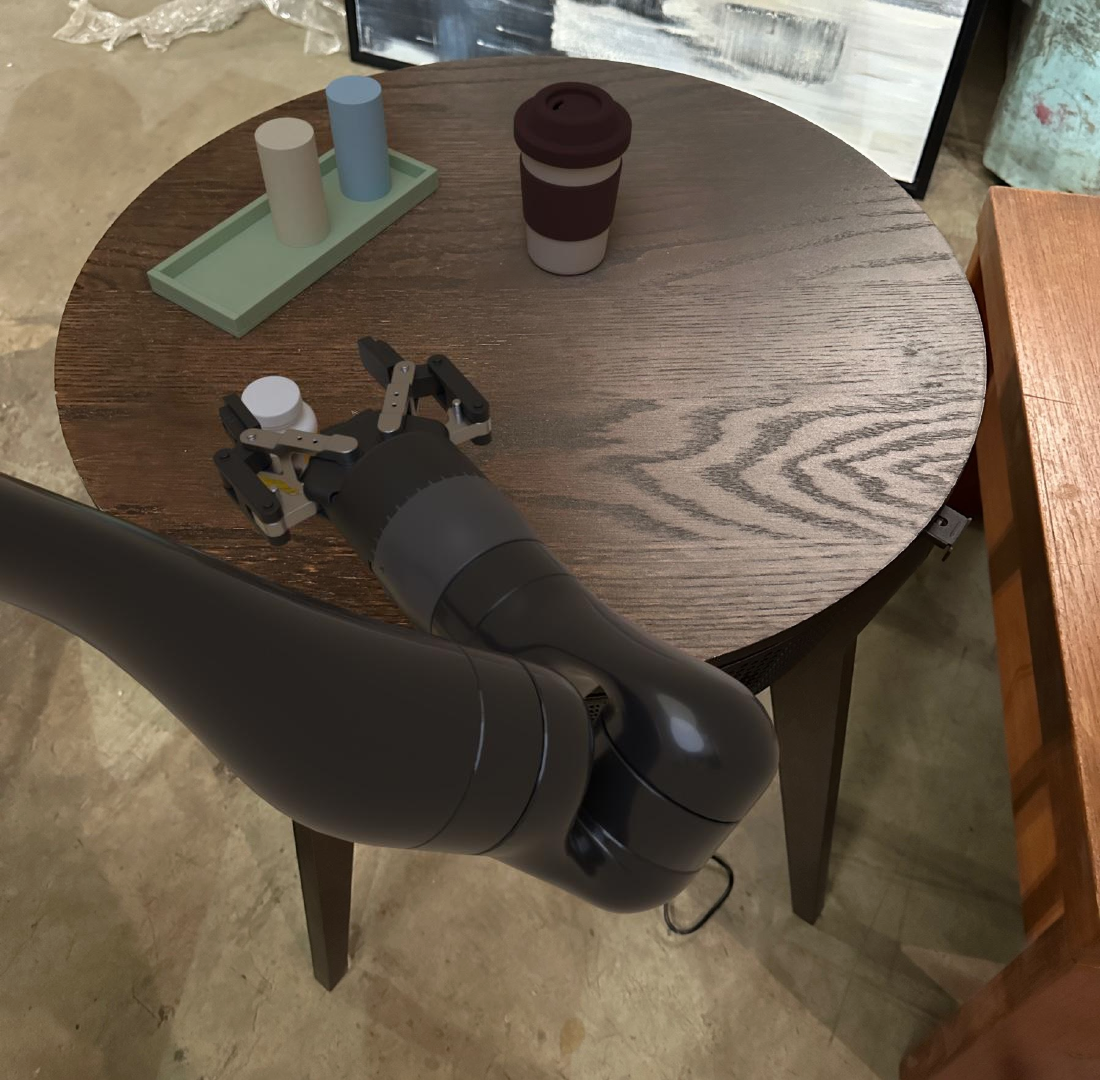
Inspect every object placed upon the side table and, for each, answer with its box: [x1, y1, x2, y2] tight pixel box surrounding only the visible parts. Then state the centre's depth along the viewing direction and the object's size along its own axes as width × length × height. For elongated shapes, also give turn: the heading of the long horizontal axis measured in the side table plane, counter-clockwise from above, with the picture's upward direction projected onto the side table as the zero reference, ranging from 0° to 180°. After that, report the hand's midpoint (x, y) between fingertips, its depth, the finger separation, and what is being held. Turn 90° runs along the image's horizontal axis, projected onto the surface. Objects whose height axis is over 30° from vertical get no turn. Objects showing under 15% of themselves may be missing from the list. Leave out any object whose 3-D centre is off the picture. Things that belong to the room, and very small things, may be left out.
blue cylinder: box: [325, 74, 392, 202], centre depth 97 cm, size 5×5×10 cm
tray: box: [146, 147, 440, 339], centre depth 96 cm, size 28×11×2 cm, turn 146°
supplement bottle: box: [240, 375, 320, 495], centre depth 74 cm, size 5×5×10 cm
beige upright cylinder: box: [254, 117, 330, 248], centre depth 92 cm, size 5×5×10 cm
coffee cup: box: [513, 81, 633, 276], centre depth 90 cm, size 10×10×15 cm
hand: (299, 377), depth 60 cm, fingers open, 8 cm apart
